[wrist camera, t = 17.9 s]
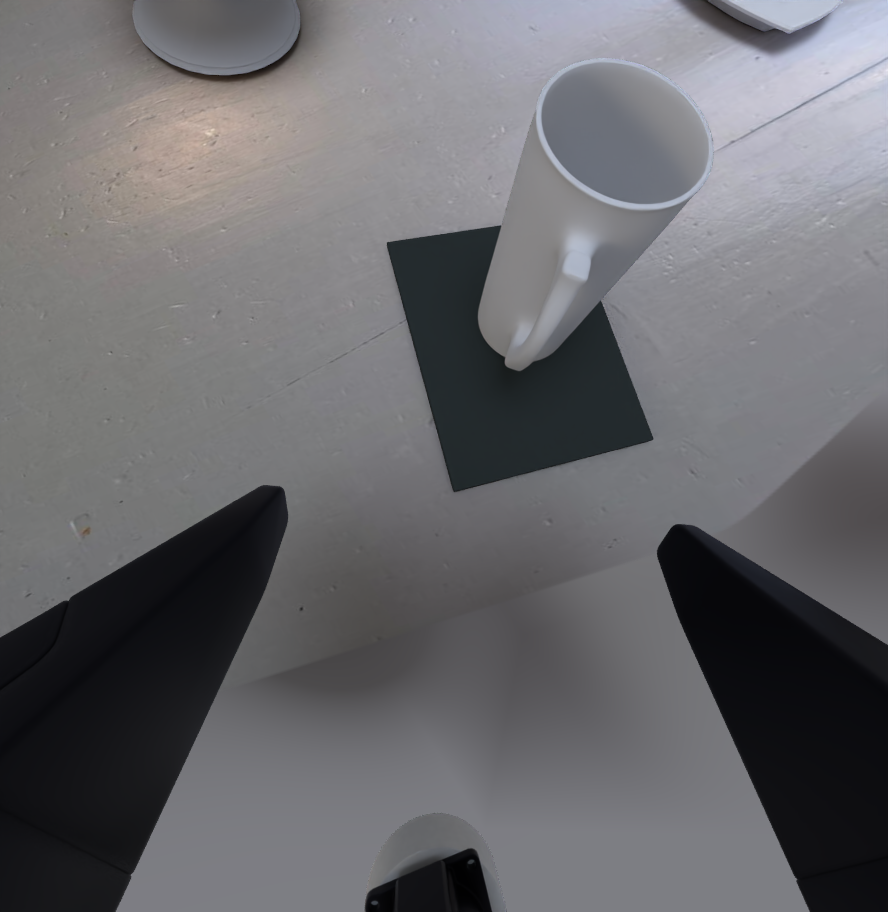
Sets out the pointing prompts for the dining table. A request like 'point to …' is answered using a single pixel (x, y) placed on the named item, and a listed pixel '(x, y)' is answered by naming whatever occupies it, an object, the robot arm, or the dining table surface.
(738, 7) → the plate
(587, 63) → the mug
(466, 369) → the mat
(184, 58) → the chalice
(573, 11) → the dining table surface
